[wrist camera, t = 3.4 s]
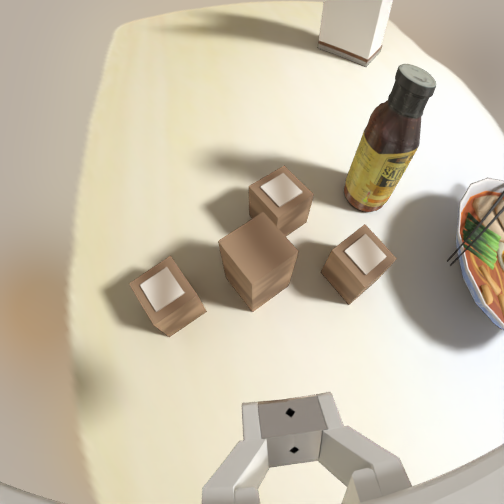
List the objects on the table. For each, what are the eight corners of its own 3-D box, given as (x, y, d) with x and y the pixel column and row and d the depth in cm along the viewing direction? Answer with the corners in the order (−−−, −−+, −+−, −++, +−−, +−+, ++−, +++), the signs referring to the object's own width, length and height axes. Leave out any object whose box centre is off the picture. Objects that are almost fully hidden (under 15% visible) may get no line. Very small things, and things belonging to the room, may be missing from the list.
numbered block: (169, 337, 34) (153, 324, 28) (146, 299, 35) (127, 281, 30) (206, 311, 35) (197, 294, 29) (181, 275, 37) (169, 253, 31)
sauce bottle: (366, 223, 39) (428, 104, 22) (332, 190, 42) (371, 64, 24) (394, 198, 41) (456, 87, 23) (363, 169, 43) (406, 53, 25)
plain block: (252, 312, 35) (252, 284, 27) (225, 277, 37) (218, 241, 28) (288, 285, 36) (298, 251, 28) (261, 253, 38) (263, 211, 30)
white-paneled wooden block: (274, 244, 38) (278, 216, 33) (248, 214, 40) (247, 184, 35) (306, 222, 40) (314, 193, 34) (279, 194, 41) (283, 163, 36)
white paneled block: (348, 305, 35) (366, 287, 29) (319, 271, 37) (330, 247, 31) (377, 279, 36) (397, 258, 31) (349, 247, 38) (364, 221, 32)
